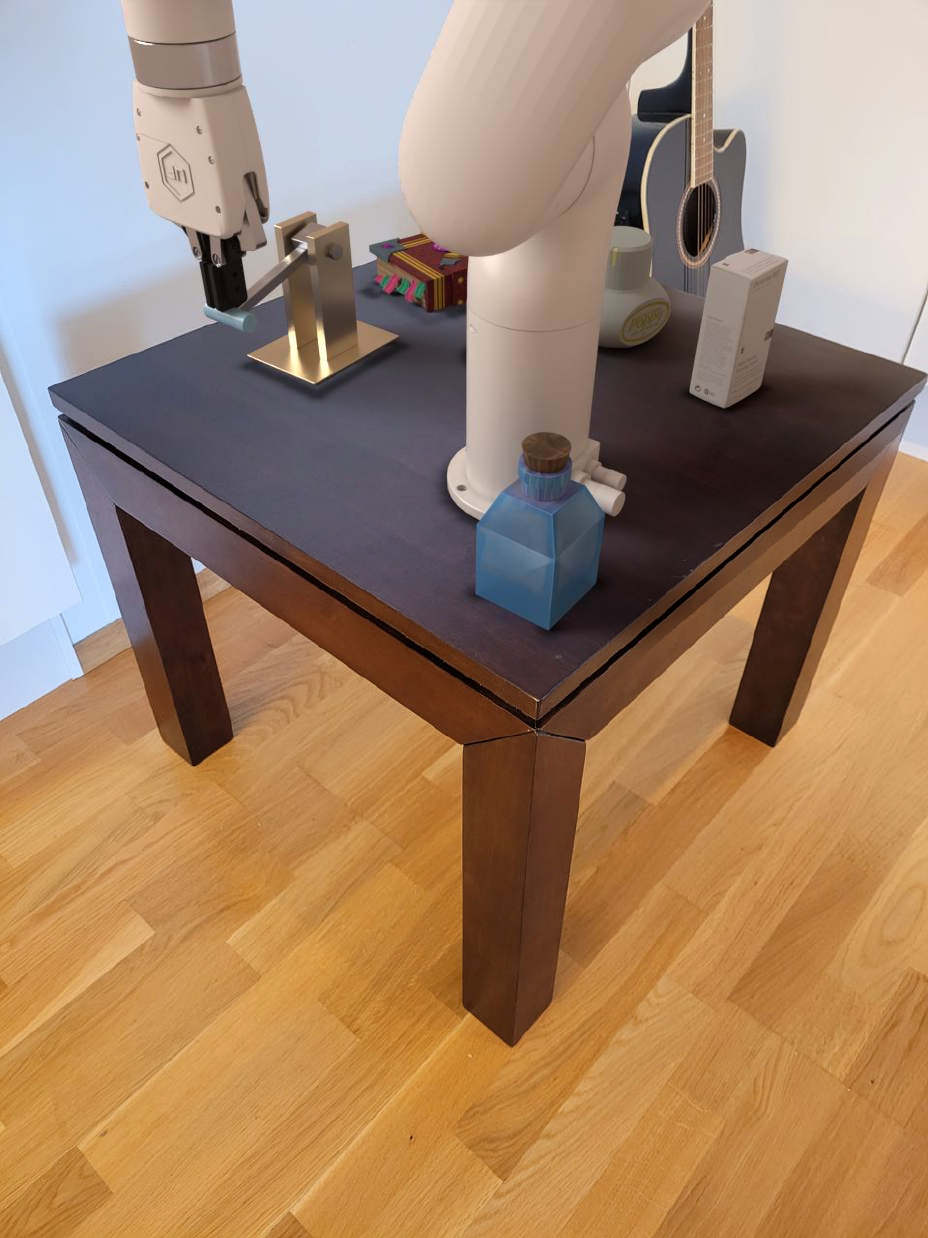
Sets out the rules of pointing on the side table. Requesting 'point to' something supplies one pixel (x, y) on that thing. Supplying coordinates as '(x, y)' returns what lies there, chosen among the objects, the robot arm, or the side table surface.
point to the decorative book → (421, 271)
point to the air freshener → (631, 292)
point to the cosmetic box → (737, 326)
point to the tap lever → (266, 284)
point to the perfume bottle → (540, 536)
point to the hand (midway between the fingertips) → (228, 303)
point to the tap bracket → (320, 308)
